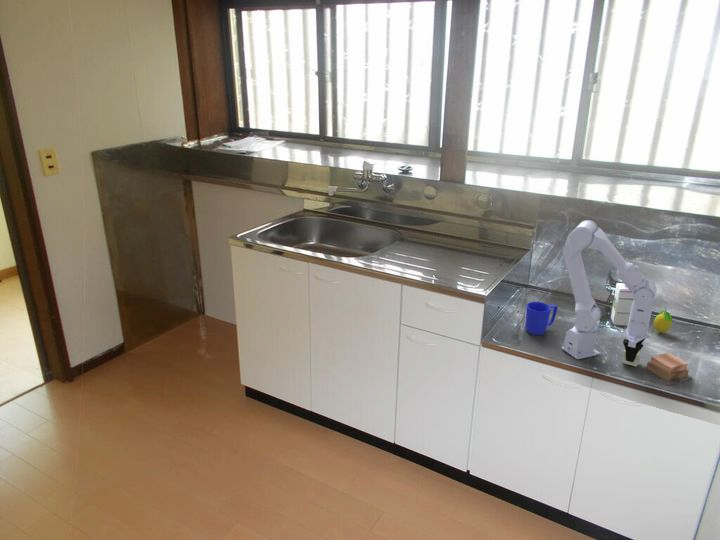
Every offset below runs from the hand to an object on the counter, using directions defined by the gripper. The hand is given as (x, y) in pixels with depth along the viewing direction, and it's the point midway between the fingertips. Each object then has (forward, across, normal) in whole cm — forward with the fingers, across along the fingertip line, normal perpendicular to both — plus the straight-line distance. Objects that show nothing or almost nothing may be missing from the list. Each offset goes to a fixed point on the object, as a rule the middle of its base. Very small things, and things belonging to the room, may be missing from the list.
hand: (631, 357), depth 177 cm
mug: (+3, +6, +31) cm, 32 cm away
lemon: (+3, +29, -5) cm, 29 cm away
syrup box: (+3, +30, +8) cm, 31 cm away
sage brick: (+1, 0, 0) cm, 1 cm away
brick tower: (+2, 0, -10) cm, 11 cm away
